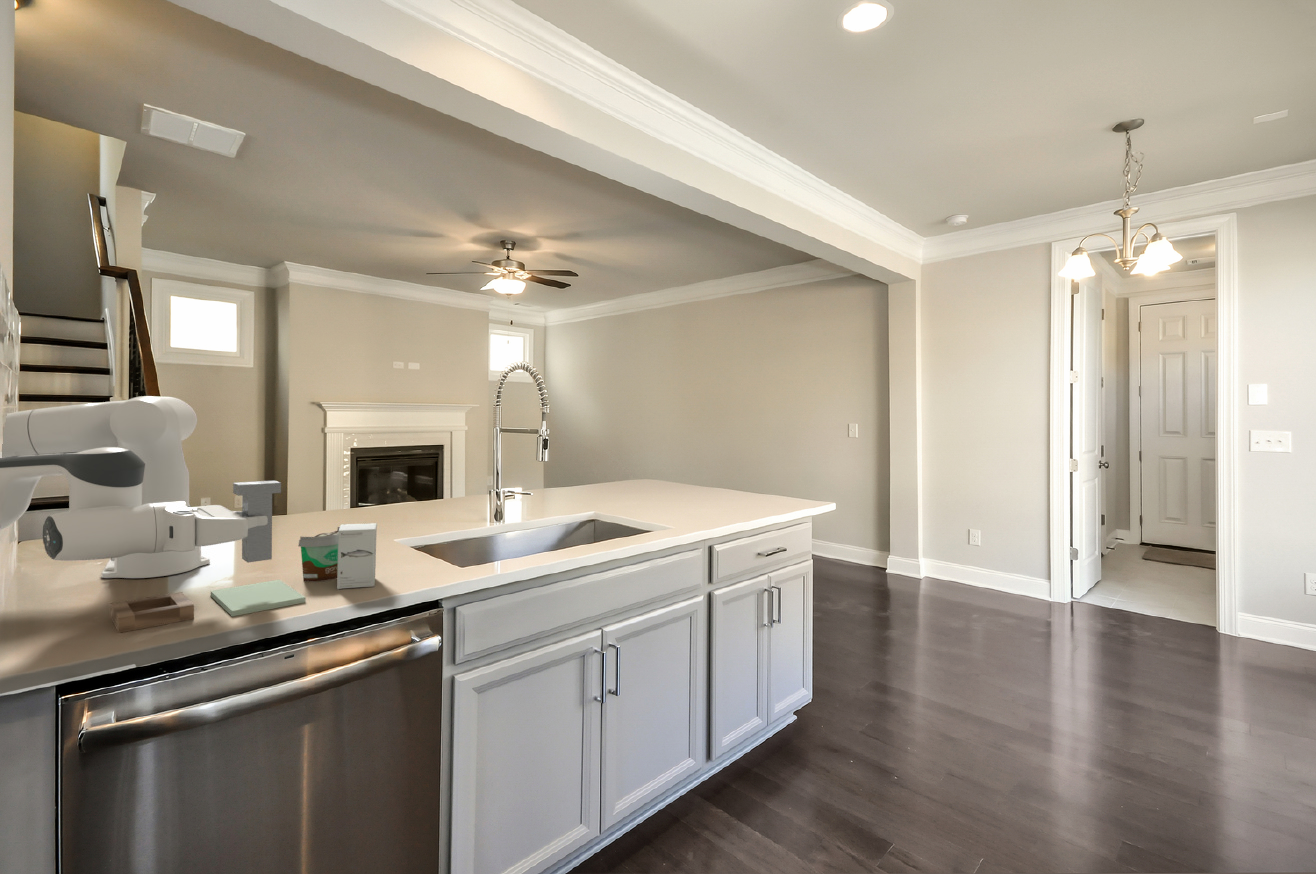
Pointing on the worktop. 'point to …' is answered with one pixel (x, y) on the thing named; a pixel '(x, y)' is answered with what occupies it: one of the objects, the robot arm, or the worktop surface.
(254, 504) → the t-key
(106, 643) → the worktop surface
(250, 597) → the green mat
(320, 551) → the food container
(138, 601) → the socket block
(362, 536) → the supplement box
